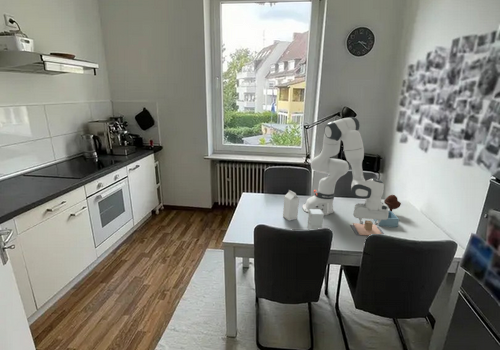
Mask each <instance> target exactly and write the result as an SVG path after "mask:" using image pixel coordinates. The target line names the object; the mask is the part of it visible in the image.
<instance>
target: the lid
mask: <svg viewBox="0 0 500 350" xmlns="http://www.w3.org/2000/svg"><path fill="white" fill-rule="evenodd" d="M352 225H354V227H355V228H356V230H357V231H358V233H359V234H360V235H359V236H366V235H371V234H382V233H381V232H380V230H379V229H378V228H377V227H378V226H377V225H375V223H373V221H372V220H365V219H364V223H363V225H362V224H360V222H359V223H358V222H357V223H356V222H353V223H352ZM376 226H377V227H376Z"/></svg>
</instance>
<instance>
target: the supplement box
mask: <svg viewBox="0 0 500 350" xmlns="http://www.w3.org/2000/svg"><path fill="white" fill-rule="evenodd" d="M324 216H325V215H324V214H323V213H322V211H321V210H320V209H309V213H308V217H307V219H308V220H307V229H308V230H309V229H318V228H322V229H323V222H324Z"/></svg>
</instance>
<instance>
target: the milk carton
mask: <svg viewBox="0 0 500 350" xmlns="http://www.w3.org/2000/svg"><path fill="white" fill-rule="evenodd" d="M299 204H300V197H298V196H297V193H296V192H294V191H292V190H290V189H288V192H287V193H286V194H285V195H284V199H283V211H282V217H283V218H284V219H286V220H287V221H293V220H297V219H298V214H299V206H300V205H299Z"/></svg>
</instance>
